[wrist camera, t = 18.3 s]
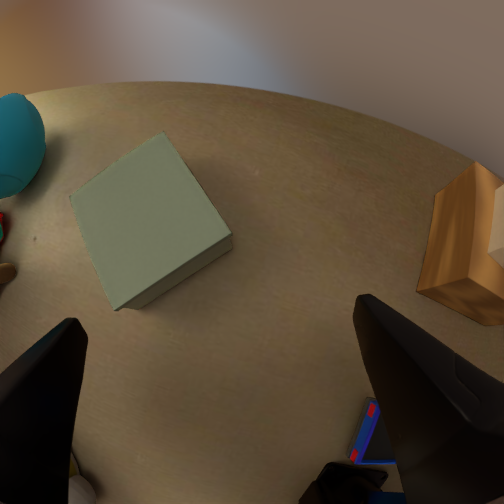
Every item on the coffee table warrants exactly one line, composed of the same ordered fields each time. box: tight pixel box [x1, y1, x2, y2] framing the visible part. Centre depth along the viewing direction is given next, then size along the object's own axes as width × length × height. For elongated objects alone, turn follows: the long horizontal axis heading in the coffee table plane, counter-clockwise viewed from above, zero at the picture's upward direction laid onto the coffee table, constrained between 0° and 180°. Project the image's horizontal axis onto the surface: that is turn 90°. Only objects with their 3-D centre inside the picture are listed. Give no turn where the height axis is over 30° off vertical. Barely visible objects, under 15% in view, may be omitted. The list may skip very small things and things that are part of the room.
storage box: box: [69, 131, 232, 311], centre depth 20 cm, size 10×9×4 cm
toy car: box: [346, 397, 396, 464], centre depth 15 cm, size 7×12×5 cm, turn 75°
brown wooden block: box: [416, 161, 504, 326], centre depth 17 cm, size 10×10×7 cm
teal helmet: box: [0, 93, 46, 199], centre depth 19 cm, size 12×11×12 cm
